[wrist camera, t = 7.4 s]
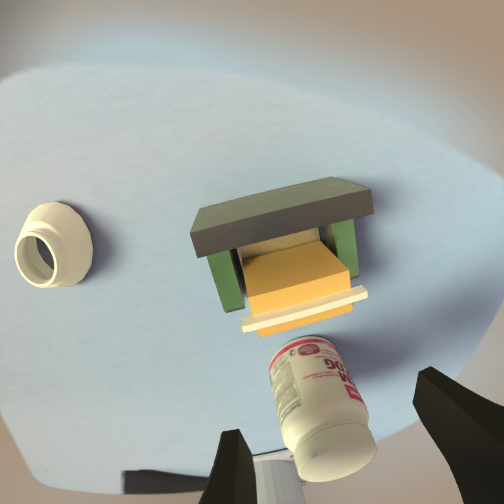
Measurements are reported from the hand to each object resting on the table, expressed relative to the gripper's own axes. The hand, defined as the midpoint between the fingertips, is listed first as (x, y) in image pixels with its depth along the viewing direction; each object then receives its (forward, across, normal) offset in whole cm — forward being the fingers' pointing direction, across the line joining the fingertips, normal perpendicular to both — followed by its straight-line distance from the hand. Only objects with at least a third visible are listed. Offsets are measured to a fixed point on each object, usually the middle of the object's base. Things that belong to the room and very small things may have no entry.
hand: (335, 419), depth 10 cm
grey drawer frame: (+8, 0, -3) cm, 9 cm away
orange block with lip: (+8, 0, -3) cm, 8 cm away
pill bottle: (+8, 0, +4) cm, 9 cm away
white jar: (+9, +12, -8) cm, 17 cm away
